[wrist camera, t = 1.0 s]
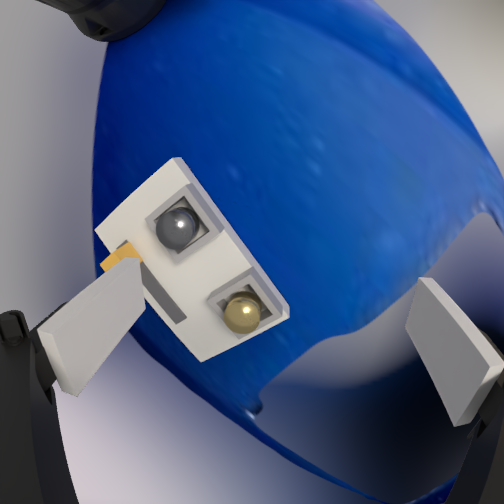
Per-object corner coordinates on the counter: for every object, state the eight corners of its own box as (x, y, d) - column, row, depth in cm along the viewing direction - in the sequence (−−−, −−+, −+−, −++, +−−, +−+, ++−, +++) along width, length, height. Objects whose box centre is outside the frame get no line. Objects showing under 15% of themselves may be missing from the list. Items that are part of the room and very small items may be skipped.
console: (105, 224, 39) (84, 235, 34) (182, 156, 35) (165, 157, 30) (205, 350, 44) (196, 373, 39) (290, 305, 40) (290, 327, 35)
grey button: (159, 220, 33) (148, 226, 30) (185, 199, 32) (175, 204, 29) (180, 247, 34) (171, 256, 31) (206, 228, 33) (199, 236, 30)
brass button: (221, 301, 36) (216, 313, 33) (248, 285, 34) (245, 296, 32) (241, 325, 36) (237, 339, 34) (268, 310, 35) (266, 324, 32)
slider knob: (115, 253, 37) (99, 264, 33) (129, 241, 36) (113, 251, 32) (129, 271, 37) (114, 284, 34) (143, 260, 37) (128, 272, 33)
